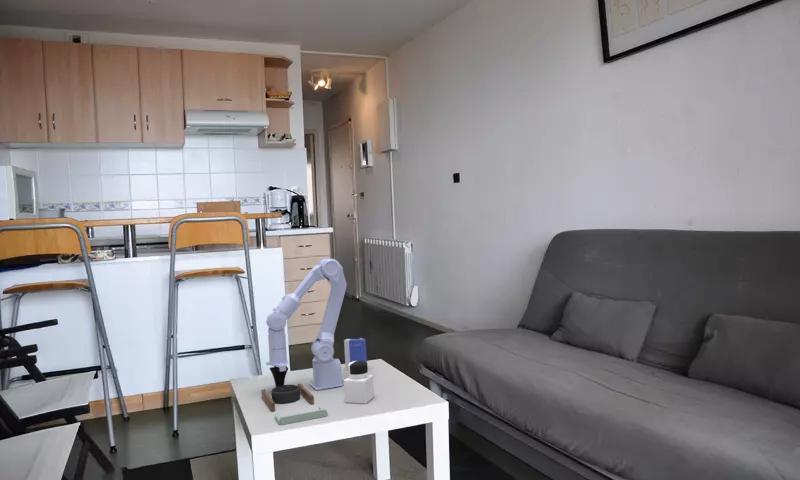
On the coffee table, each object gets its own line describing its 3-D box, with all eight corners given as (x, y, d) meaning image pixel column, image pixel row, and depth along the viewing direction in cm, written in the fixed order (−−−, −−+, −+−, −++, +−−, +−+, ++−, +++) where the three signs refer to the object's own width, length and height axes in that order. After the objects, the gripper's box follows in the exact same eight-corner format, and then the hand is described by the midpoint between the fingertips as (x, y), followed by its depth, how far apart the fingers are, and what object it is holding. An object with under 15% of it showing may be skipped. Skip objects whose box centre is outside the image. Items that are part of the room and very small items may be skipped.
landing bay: (321, 409, 168) (321, 403, 168) (328, 416, 162) (327, 409, 162) (274, 418, 162) (274, 411, 162) (279, 425, 156) (279, 418, 156)
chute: (300, 391, 190) (300, 383, 189) (314, 404, 174) (313, 396, 174) (261, 397, 184) (261, 389, 184) (271, 411, 169) (271, 403, 169)
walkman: (367, 369, 215) (365, 337, 215) (365, 370, 212) (363, 339, 212) (347, 369, 217) (346, 338, 217) (345, 370, 214) (343, 339, 214)
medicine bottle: (374, 397, 178) (372, 359, 178) (365, 404, 171) (363, 364, 171) (353, 396, 180) (351, 358, 180) (344, 403, 174) (342, 364, 173)
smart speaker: (266, 403, 178) (265, 390, 178) (282, 395, 186) (281, 383, 186) (290, 405, 175) (289, 392, 175) (305, 396, 183) (304, 384, 183)
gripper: (261, 346, 194) (264, 385, 194) (269, 353, 181) (272, 395, 181) (282, 343, 197) (284, 382, 197) (291, 350, 183) (293, 392, 184)
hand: (279, 388), depth 189 cm, fingers closed
